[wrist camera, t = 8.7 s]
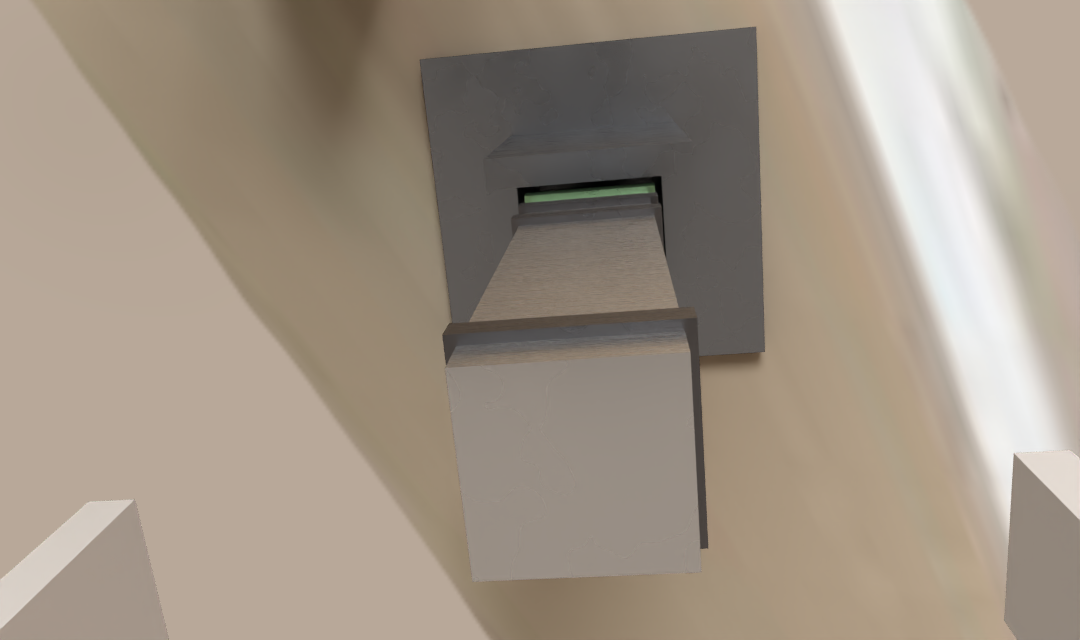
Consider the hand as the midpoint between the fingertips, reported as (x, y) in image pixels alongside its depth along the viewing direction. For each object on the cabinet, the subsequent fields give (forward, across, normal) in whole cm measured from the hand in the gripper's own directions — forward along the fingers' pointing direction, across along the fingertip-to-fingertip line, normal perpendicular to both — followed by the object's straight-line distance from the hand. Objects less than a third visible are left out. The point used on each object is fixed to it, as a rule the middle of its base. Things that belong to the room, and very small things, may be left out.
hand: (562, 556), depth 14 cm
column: (+26, 0, -1) cm, 26 cm away
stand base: (+34, 0, -1) cm, 34 cm away
